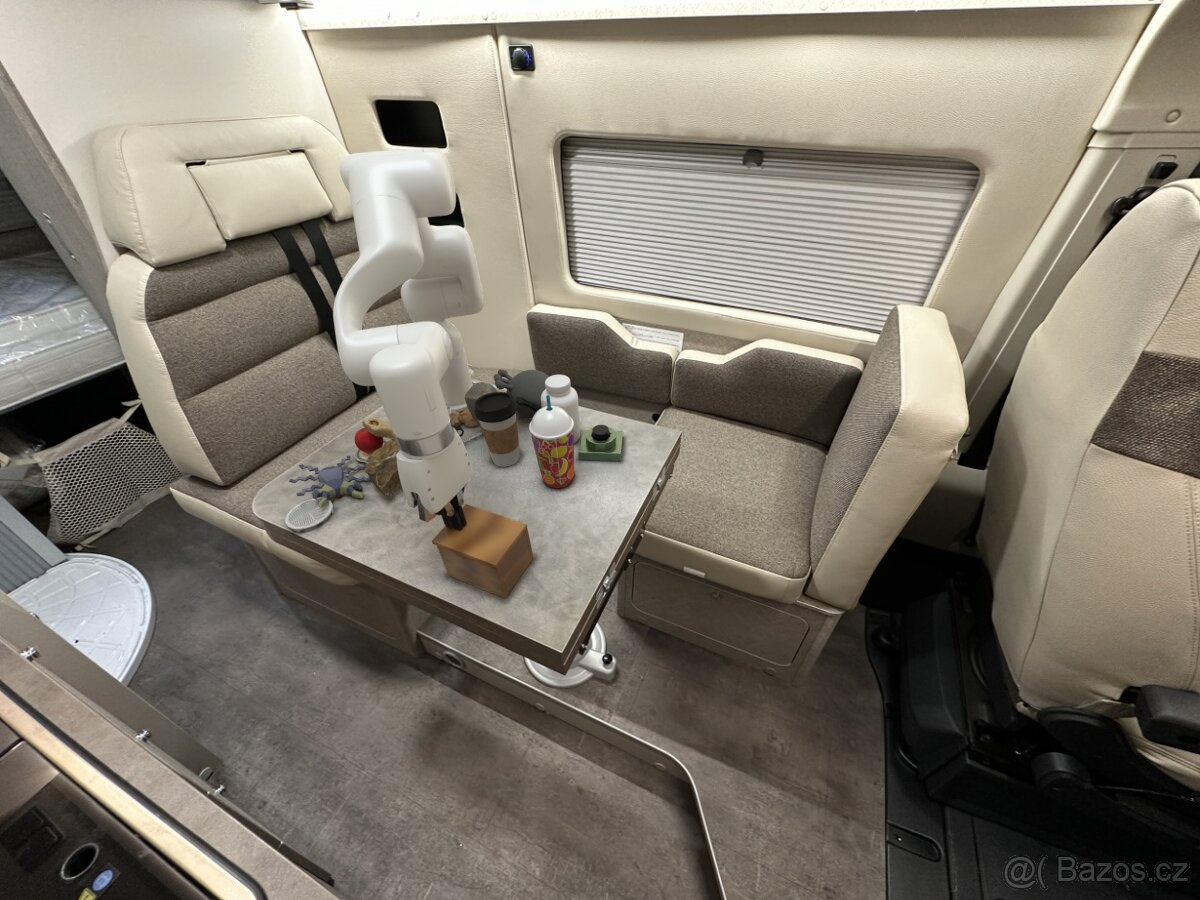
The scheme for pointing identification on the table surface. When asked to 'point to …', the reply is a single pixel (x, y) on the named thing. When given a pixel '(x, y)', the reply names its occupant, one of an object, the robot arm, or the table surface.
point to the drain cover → (308, 514)
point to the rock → (384, 468)
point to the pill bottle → (563, 399)
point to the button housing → (601, 446)
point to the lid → (482, 536)
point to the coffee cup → (499, 426)
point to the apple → (367, 444)
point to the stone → (477, 396)
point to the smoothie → (553, 444)
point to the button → (600, 432)
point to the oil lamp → (378, 427)
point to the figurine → (462, 418)
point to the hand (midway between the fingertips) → (456, 524)
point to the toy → (332, 482)
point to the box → (491, 568)
